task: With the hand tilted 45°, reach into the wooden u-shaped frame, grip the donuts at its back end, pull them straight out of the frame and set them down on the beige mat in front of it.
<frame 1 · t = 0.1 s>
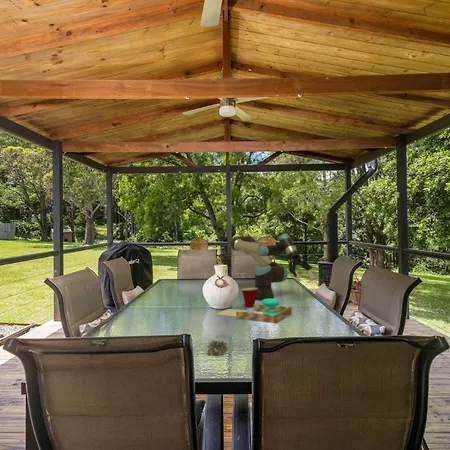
hand: (306, 279, 263), 15 cm above the table, tool tilted 35°, fingers open, 13 cm apart
donuts: (271, 317, 222), on the table
plastic cup: (249, 306, 252), on the table
beige mat: (232, 313, 234), on the table
wooden u-shaped frame: (264, 316, 224), on the table
rough brown lump: (217, 352, 162), on the table
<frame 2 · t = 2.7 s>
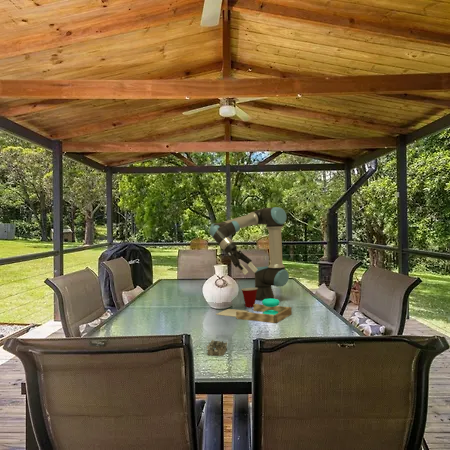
hand: (251, 272, 229), 25 cm above the table, tool tilted 45°, fingers open, 13 cm apart
nothing on the table moved.
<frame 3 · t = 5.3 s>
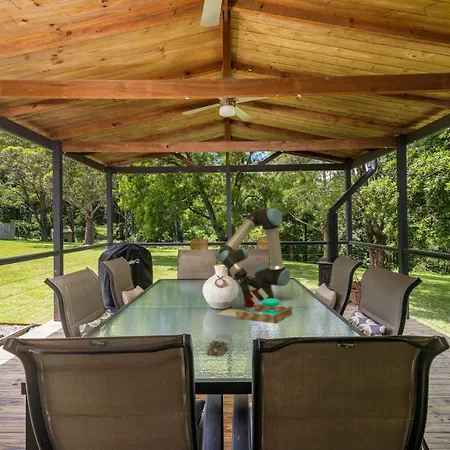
hand: (261, 299, 223), 10 cm above the table, tool tilted 45°, fingers open, 13 cm apart
nothing on the table moved.
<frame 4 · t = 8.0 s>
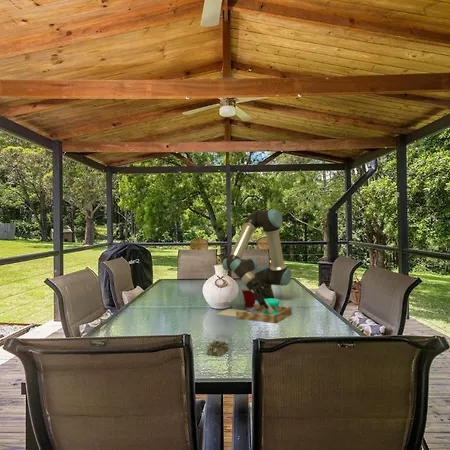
hand: (276, 310, 221), 4 cm above the table, tool tilted 45°, fingers closed on donuts, 10 cm apart
donuts: (271, 317, 222), on the table, touching gripper
everything else where it was.
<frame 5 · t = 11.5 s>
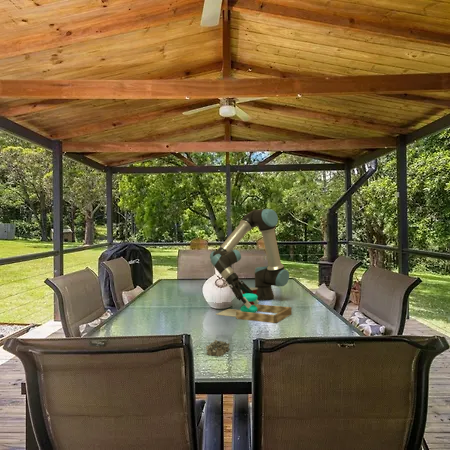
hand: (253, 305, 226), 6 cm above the table, tool tilted 45°, fingers closed on donuts, 10 cm apart
donuts: (248, 312, 227), point 2 cm above the table, touching gripper
everything else where it was.
when the fingers open (5 cm above the table, at t = 15.1 s): donuts stays where it is, resting on beige mat.
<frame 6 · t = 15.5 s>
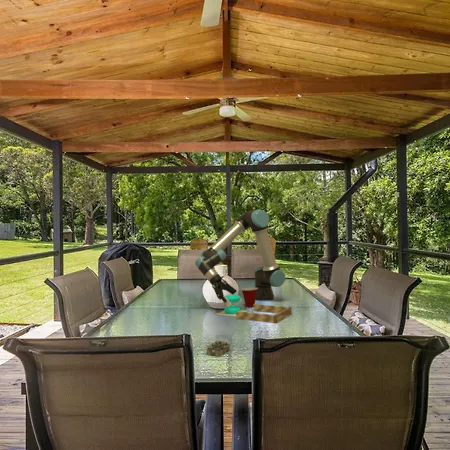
hand: (235, 303, 233), 6 cm above the table, tool tilted 45°, fingers open, 13 cm apart
donuts: (232, 312, 234), resting on beige mat
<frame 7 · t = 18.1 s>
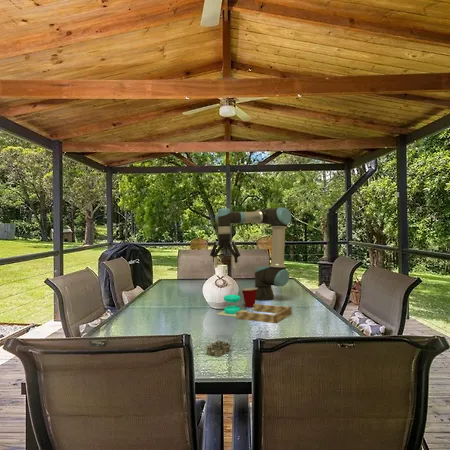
hand: (225, 267, 240), 27 cm above the table, tool pointing down, fingers open, 13 cm apart
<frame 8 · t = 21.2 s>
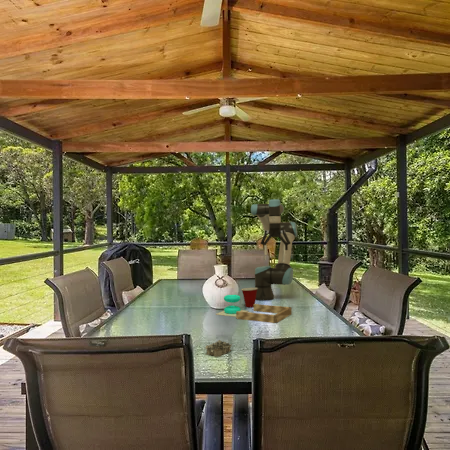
hand: (275, 255, 257), 33 cm above the table, tool pointing down, fingers open, 13 cm apart
at the end: donuts inside the target area on the beige mat (0.1 cm from its centre), point 0.2 cm above the beige mat's base; donuts tilted 0°; the gripper is holding nothing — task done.
